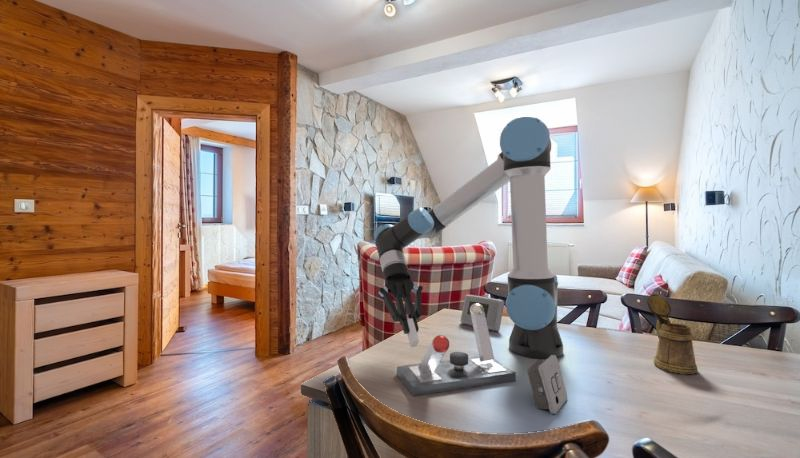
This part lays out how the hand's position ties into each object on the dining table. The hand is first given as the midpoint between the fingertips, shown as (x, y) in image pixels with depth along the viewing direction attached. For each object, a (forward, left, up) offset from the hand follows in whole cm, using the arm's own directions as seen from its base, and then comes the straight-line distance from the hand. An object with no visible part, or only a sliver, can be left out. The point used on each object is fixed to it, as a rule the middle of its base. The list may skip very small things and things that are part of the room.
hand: (414, 344), depth 94 cm
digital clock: (-24, -42, -7) cm, 49 cm away
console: (-10, +3, -7) cm, 12 cm away
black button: (-11, +3, -4) cm, 12 cm away
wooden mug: (-68, -8, -7) cm, 69 cm away
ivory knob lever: (-18, 0, -5) cm, 19 cm away
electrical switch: (-28, +15, -7) cm, 32 cm away
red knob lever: (-2, +6, -5) cm, 8 cm away
